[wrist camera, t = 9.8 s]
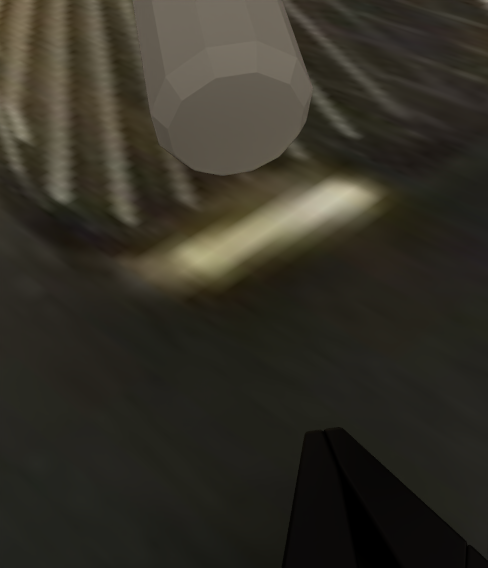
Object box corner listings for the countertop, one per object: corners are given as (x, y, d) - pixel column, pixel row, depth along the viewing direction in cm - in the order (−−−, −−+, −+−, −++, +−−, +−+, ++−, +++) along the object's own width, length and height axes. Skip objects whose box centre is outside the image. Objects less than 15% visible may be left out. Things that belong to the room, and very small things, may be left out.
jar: (158, 45, 17) (120, -166, 23) (148, 183, 26) (122, 2, 32) (349, 65, 20) (271, -126, 26) (283, 182, 29) (236, 17, 35)
